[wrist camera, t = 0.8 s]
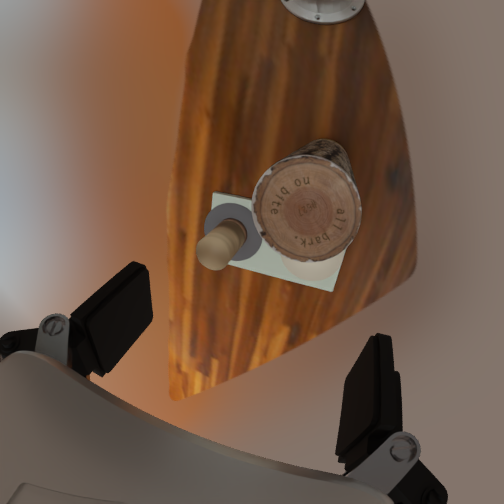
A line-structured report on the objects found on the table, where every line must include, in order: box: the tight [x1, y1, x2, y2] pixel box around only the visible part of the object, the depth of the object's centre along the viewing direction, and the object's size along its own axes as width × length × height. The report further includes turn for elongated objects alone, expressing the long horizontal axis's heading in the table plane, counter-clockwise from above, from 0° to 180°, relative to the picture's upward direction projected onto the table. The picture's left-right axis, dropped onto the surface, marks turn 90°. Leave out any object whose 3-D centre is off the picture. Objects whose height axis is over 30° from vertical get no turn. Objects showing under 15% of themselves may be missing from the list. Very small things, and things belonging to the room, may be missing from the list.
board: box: [204, 191, 346, 292], centre depth 46 cm, size 12×23×1 cm, turn 82°
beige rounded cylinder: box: [196, 218, 247, 270], centre depth 43 cm, size 5×5×8 cm
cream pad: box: [281, 250, 344, 281], centre depth 44 cm, size 10×10×1 cm
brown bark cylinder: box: [251, 139, 362, 263], centre depth 28 cm, size 7×7×25 cm
